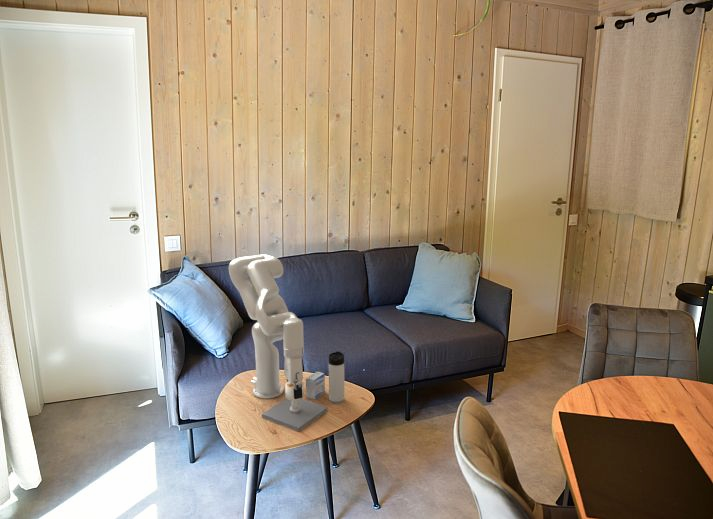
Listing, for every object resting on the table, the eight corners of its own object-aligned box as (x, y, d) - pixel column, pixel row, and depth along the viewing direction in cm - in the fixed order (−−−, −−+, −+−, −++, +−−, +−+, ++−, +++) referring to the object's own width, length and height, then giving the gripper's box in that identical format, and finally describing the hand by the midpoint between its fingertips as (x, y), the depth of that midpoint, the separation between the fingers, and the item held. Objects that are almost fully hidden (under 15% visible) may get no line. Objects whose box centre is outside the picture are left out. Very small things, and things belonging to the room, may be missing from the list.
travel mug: (346, 397, 224) (346, 351, 219) (342, 405, 218) (342, 358, 213) (331, 395, 225) (331, 350, 221) (327, 403, 219) (326, 356, 214)
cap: (296, 390, 214) (296, 376, 212) (307, 396, 209) (307, 383, 207) (281, 395, 209) (281, 382, 208) (292, 402, 204) (292, 388, 203)
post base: (261, 417, 208) (261, 400, 206) (292, 398, 223) (291, 382, 221) (298, 431, 198) (298, 413, 197) (327, 410, 213) (327, 393, 211)
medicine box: (314, 400, 222) (314, 380, 219) (305, 397, 224) (305, 378, 222) (325, 392, 228) (325, 373, 226) (316, 389, 230) (316, 370, 228)
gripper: (278, 344, 211) (279, 384, 215) (290, 361, 195) (291, 404, 199) (296, 341, 214) (297, 381, 218) (310, 358, 198) (310, 401, 202)
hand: (294, 392), depth 208 cm, fingers open, 9 cm apart
